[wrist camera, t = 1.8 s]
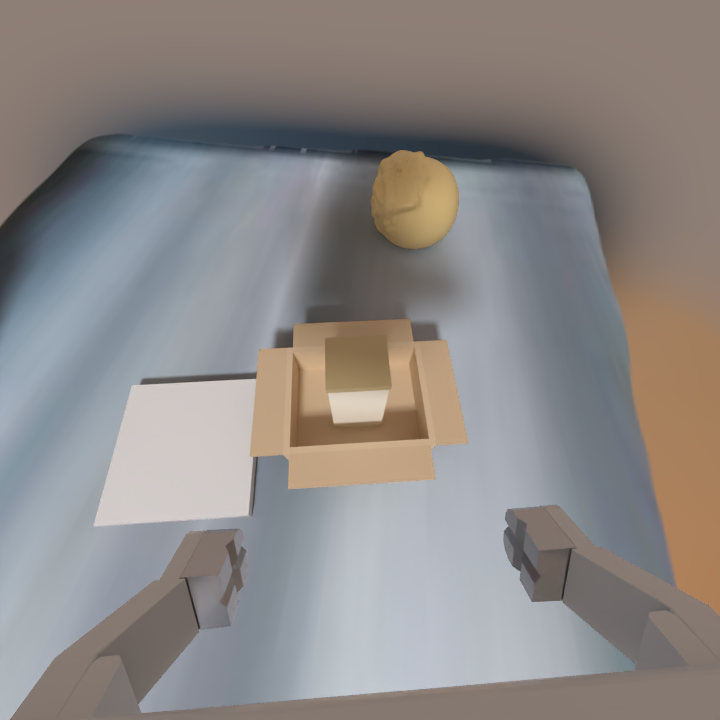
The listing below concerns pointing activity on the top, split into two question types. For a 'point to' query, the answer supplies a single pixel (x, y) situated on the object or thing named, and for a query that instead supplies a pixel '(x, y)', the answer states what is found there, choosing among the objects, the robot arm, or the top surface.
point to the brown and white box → (357, 379)
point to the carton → (365, 443)
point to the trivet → (182, 454)
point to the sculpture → (414, 200)
